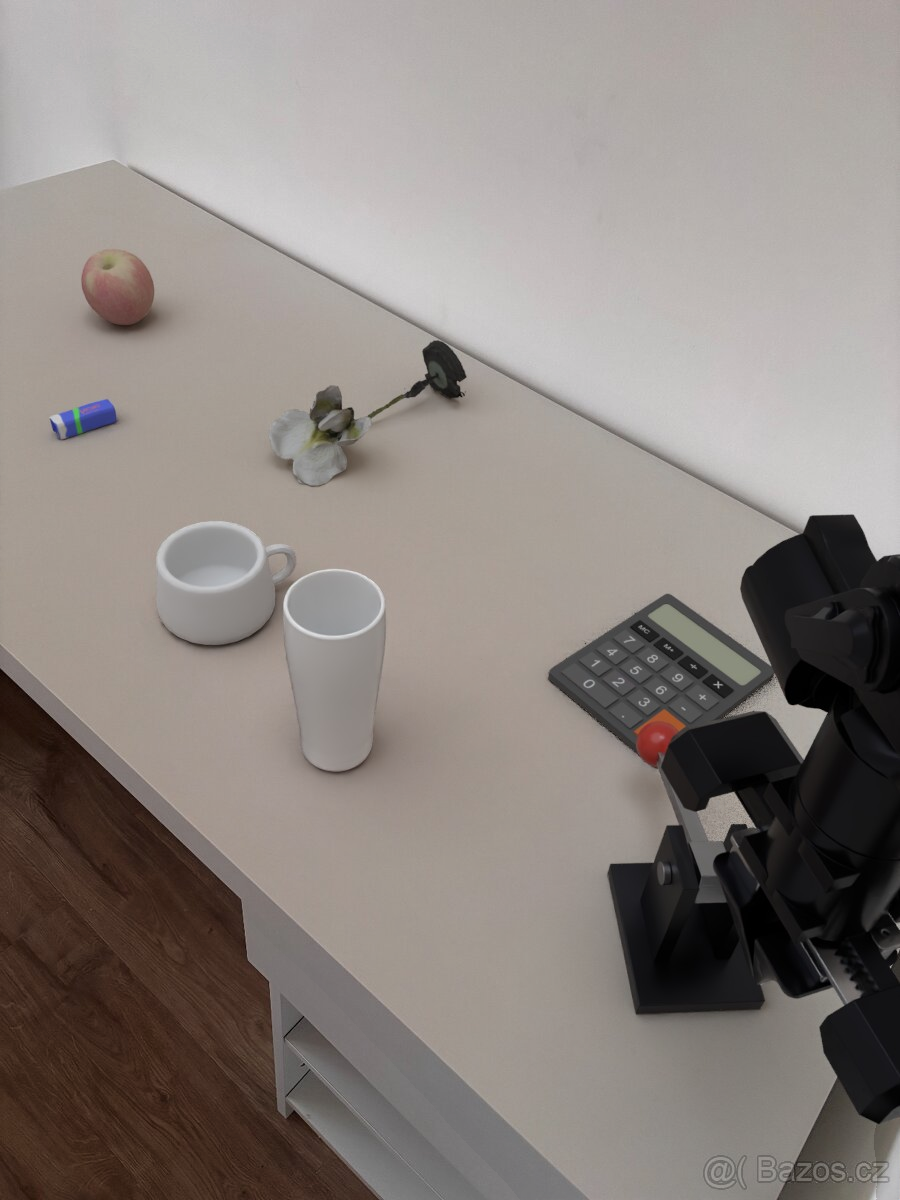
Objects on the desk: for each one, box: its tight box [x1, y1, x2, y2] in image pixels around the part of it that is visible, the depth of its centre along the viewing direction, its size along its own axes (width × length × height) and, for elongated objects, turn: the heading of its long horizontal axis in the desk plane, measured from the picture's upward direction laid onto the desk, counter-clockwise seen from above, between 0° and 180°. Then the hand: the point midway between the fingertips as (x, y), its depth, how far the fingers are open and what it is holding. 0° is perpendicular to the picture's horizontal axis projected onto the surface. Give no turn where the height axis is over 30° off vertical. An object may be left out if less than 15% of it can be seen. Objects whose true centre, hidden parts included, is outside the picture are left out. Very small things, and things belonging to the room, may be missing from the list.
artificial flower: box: [268, 339, 467, 487], centre depth 105 cm, size 9×22×10 cm, turn 131°
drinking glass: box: [282, 568, 387, 772], centre depth 74 cm, size 7×7×15 cm
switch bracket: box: [607, 823, 766, 1015], centre depth 66 cm, size 10×8×10 cm
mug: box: [155, 520, 297, 646], centre depth 87 cm, size 12×10×6 cm
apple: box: [80, 248, 155, 326], centre depth 118 cm, size 8×8×8 cm
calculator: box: [547, 593, 775, 754], centre depth 86 cm, size 12×1×15 cm
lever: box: [636, 721, 727, 904], centre depth 69 cm, size 15×3×3 cm, turn 4°
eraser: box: [49, 398, 117, 440], centre depth 105 cm, size 2×6×2 cm, turn 126°
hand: (762, 975), depth 54 cm, fingers closed
